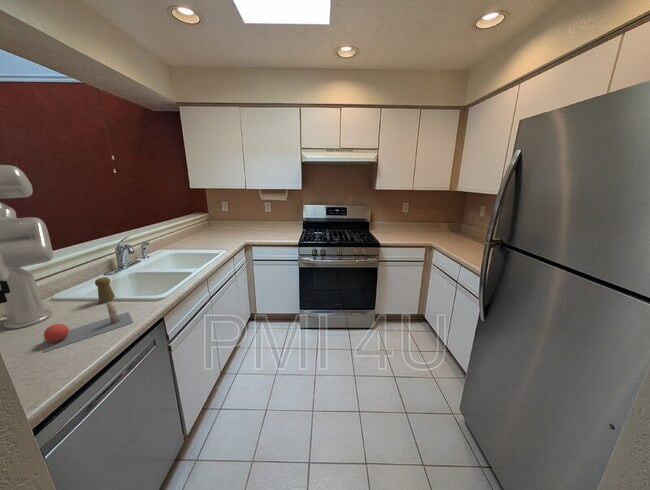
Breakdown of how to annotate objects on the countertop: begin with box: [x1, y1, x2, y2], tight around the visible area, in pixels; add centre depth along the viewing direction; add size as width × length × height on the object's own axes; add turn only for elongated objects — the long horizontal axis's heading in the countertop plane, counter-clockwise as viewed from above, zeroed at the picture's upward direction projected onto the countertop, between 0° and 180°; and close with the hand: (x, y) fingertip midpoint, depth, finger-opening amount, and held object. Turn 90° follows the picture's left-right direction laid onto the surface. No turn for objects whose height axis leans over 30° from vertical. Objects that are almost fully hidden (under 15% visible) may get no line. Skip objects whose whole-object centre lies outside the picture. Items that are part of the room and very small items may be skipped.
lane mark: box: [43, 311, 134, 353], centre depth 95 cm, size 24×11×1 cm, turn 135°
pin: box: [105, 300, 119, 324], centre depth 98 cm, size 2×2×8 cm
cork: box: [94, 276, 116, 305], centre depth 115 cm, size 6×6×11 cm
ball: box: [43, 323, 70, 342], centre depth 88 cm, size 6×6×6 cm
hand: (1, 298), depth 78 cm, fingers open, 9 cm apart
